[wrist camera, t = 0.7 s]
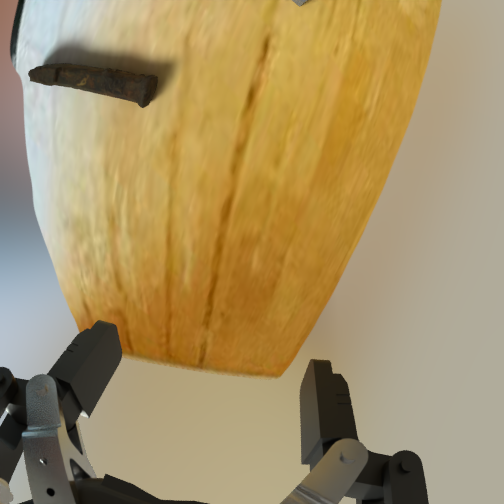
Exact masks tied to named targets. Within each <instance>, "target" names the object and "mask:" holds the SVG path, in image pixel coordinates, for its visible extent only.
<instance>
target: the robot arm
mask: <svg viewBox="0 0 504 504" xmlns="http://www.w3.org/2000/svg"><path fill="white" fill-rule="evenodd" d="M121 358H122V348H121V344H120V340H119V335H118V331H117V327H116V325H115V324H112V323H108V322H105V321H101V320H98V321H97V322H96V323H95V324H94V325H93V327H92V328H91V329H86V330H84V331H82V332H81V333H79V334H78V335H77V336H76V337H75V339H74V340H73V341H72V342H71V344H70V345H69V346H68V347H67V349H66V351H64V352H63V354H62V355H61V356H60V358H59V359H58V361H57V362H56V363H55V364H54V366H53V367H52V368H51V370H50V371H49V373H47V375H45V374H40V375H36V376H34V377H32V378H31V379H30V380H24V379H19V378H14V376H13V374H12V373H11V371H10V370H9V369H7V368H5V367H0V418H1V416H2V415H3V413H4V411H5V410H6V411H7V412H8V414H7V416H6V417H5V419H4V421H3V423H2V424H1V426H0V504H9V502H11V501H12V500H13V495H12V493H11V492H10V488H9V485H8V484H9V482H10V480H11V477H12V475H13V472H14V470H15V468H16V466H17V463H18V461H19V459H20V457H21V455H22V452H23V450H24V458H25V464H26V470H27V475H28V481H29V485H30V490H31V494H32V498H33V499H31V500H28V501H25V502H22V503H19V504H208V503H202V502H197V501H174V500H160V499H158V498H156V497H154V496H152V495H151V494H149V493H147V492H145V491H143V490H141V489H140V488H138V487H137V486H135V485H133V484H131V483H128V482H126V481H123V480H120V479H118V478H115V477H113V476H110V475H108V474H105V476H104V479H103V478H97V477H96V474H95V472H94V470H93V468H92V466H91V464H90V462H89V460H88V458H87V455H86V451H85V448H84V444H83V440H82V436H81V432H80V428H79V423H78V420H77V419H78V417H79V415H82V416H85V417H87V418H89V417H90V415H91V413H92V411H93V410H94V408H95V406H96V404H97V402H98V400H99V399H100V397H101V395H102V393H103V391H104V390H105V388H106V386H107V384H108V382H109V381H110V379H111V377H112V376H113V374H114V372H115V370H116V368H117V367H118V365H119V363H120V361H121ZM349 395H350V393H349V389H348V384H347V382H346V381H345V379H344V378H343V376H342V375H341V374H333V372H332V367H331V362H330V361H329V360H315V359H311V360H310V362H309V365H308V368H307V370H306V373H305V375H304V378H303V381H302V384H301V389H300V418H301V462H302V464H310V473H309V474H308V475H307V476H306V477H305V478H304V480H303V481H302V482H301V483H300V484H299V485H298V486H297V487H296V488H295V489H294V490H293V491H292V492H291V493H290V494H289V495H288V496H287V497H286V498H285V499H284V500H283V501H282V502H281V503H280V504H338V503H339V502H340V501H341V499H342V498H343V497H344V496H346V497H351V498H356V504H429V503H428V495H427V489H426V483H425V477H424V471H423V466H422V462H421V459H420V458H419V456H418V455H417V454H415V453H414V452H411V451H407V450H406V451H405V450H403V451H399V452H397V453H395V454H394V455H393V456H388V455H383V454H378V453H374V452H371V451H369V450H367V449H366V447H365V446H364V445H363V444H362V443H361V442H359V440H358V436H357V431H356V425H355V419H354V415H353V409H352V405H351V399H350V396H349Z"/></svg>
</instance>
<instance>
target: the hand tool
mask: <svg viewBox="0 0 504 504" xmlns="http://www.w3.org/2000/svg"><path fill="white" fill-rule="evenodd" d="M28 75H29V77H30V81H33V82H36V83H41V84H44V85H48V86H52V85H58V86H64V87H71V88H74V89H80V90H84V91H89V92H93V93H98V94H102V95H107V96H111V97H115V98H120V99H124V100H128V101H132V102H135V103H138V105H139V106H140V107H142V108H144V107H146V106H148V105H149V103H150V101H151V100H152V97H153V94H154V92H155V90H156V86H157V77H156V76H154V75H150V76H145V75H143V74H141V75H135V74H132V73H129V72H123V71H120V70H116V71H115V70H112V69H103V68H96V67H88V66H81V65H72V64H64V63H63V64H47V65H44V66H38V67H36V68H34V69H32V70H30V71H29V73H28Z"/></svg>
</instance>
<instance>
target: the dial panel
mask: <svg viewBox="0 0 504 504" xmlns="http://www.w3.org/2000/svg"><path fill="white" fill-rule="evenodd" d="M292 1H294V2H295V3H296V4H297V5H298V6H301V5H303V4H304V3H305V2H306V1H308V0H292Z"/></svg>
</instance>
